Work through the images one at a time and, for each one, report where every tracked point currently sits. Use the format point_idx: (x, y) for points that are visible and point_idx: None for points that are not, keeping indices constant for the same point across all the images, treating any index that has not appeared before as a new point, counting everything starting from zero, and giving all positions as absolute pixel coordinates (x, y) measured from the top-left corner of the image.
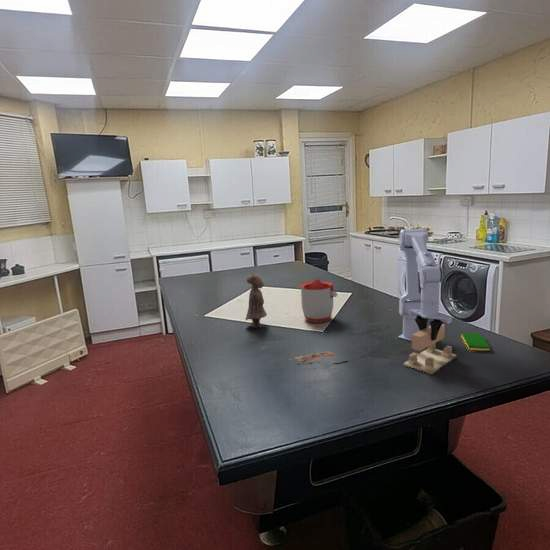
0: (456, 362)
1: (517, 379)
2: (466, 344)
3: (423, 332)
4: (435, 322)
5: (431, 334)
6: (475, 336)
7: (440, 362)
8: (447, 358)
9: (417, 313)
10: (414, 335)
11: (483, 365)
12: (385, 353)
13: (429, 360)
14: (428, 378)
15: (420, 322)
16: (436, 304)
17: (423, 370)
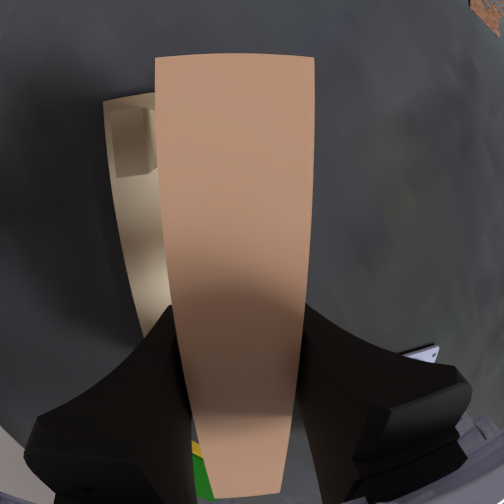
0: (120, 323)
1: None
2: (198, 451)
3: (229, 262)
4: (67, 474)
5: (173, 332)
6: (208, 489)
7: (141, 248)
8: (151, 316)
9: (493, 493)
10: (267, 55)
11: (52, 361)
12: (429, 167)
13: (118, 124)
14: (100, 59)
15: (362, 390)
16: None
17: (153, 93)
